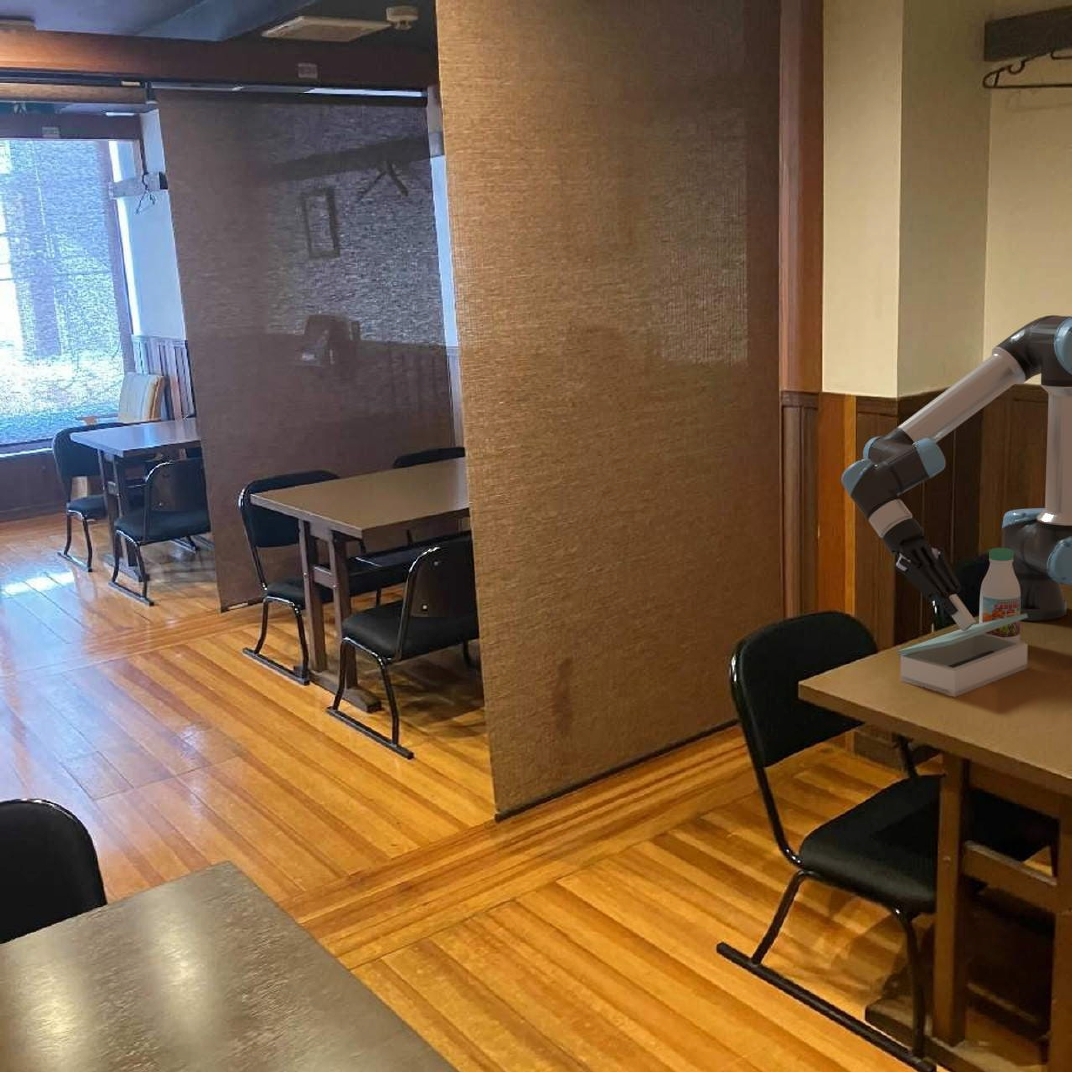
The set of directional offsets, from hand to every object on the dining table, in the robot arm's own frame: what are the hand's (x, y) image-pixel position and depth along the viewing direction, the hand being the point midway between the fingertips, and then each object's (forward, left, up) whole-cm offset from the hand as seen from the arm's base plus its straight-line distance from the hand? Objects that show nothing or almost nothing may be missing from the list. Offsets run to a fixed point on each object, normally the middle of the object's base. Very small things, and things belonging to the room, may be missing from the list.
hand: (969, 626), depth 216 cm
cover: (0, -1, -2) cm, 3 cm away
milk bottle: (-18, -10, -10) cm, 23 cm away
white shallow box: (0, -1, -10) cm, 10 cm away
